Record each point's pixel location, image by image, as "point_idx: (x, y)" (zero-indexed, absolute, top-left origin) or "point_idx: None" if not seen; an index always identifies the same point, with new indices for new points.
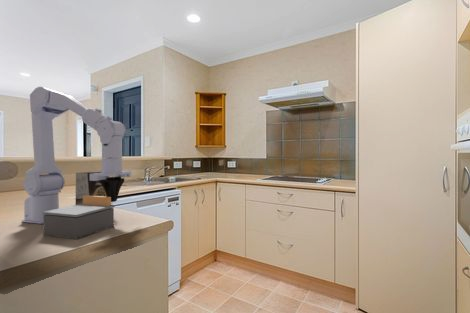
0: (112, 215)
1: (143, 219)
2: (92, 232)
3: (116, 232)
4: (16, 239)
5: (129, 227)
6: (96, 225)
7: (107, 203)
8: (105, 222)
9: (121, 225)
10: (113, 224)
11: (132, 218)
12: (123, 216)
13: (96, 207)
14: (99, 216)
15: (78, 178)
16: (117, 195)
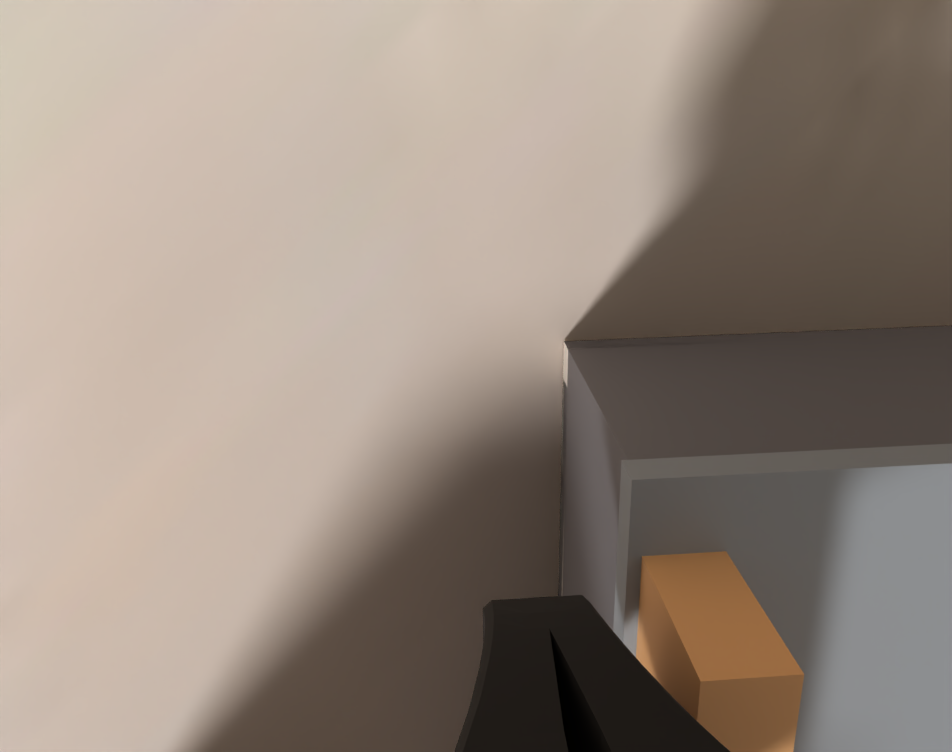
0: (623, 405)
1: (77, 161)
2: (927, 330)
3: (816, 44)
4: None
5: (556, 38)
6: (903, 362)
7: (742, 588)
8: (744, 368)
9: (501, 256)
10: (572, 349)
11: (114, 397)
12: (87, 618)
13: (895, 624)
14: (921, 410)
15: None
16: (505, 668)
